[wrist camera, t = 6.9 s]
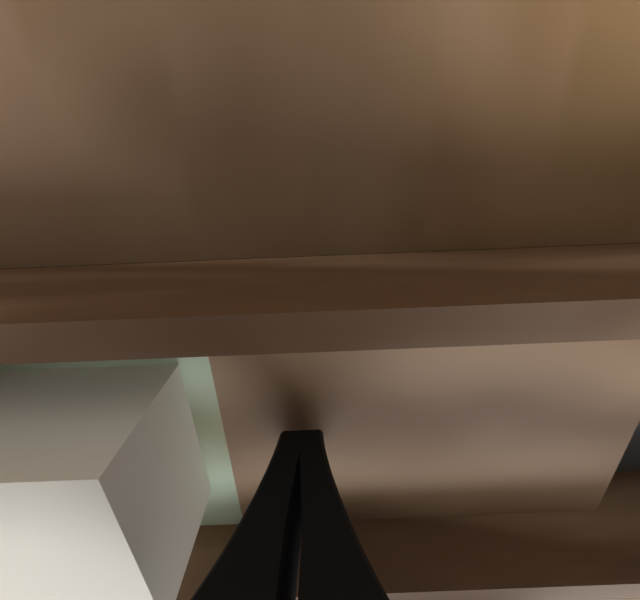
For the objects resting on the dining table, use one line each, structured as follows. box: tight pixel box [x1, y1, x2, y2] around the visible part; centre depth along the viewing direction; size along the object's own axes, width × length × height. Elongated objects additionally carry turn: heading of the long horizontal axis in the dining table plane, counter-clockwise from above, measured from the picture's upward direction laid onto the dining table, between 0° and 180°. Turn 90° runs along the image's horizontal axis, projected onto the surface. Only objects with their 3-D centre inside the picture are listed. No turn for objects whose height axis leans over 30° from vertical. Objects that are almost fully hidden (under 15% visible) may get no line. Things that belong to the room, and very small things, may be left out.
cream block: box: [0, 364, 211, 600], centre depth 9 cm, size 6×6×4 cm
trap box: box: [0, 243, 640, 600], centre depth 11 cm, size 12×32×4 cm, turn 92°
